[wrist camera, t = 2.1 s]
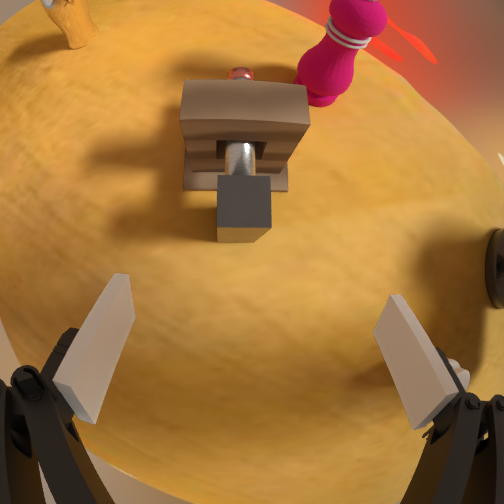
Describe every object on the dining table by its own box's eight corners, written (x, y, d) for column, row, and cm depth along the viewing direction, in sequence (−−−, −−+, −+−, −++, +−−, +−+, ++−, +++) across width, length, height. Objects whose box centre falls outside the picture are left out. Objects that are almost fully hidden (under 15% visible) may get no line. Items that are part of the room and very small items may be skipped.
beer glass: (81, 25, 31) (57, -27, 17) (108, 25, 32) (87, -34, 17) (59, 51, 31) (28, -1, 16) (85, 51, 31) (55, -8, 16)
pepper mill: (347, 105, 35) (420, 14, 15) (306, 115, 34) (369, 7, 14) (323, 68, 35) (376, -27, 15) (281, 76, 34) (322, -34, 14)
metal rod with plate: (253, 242, 32) (271, 227, 21) (217, 242, 31) (216, 227, 21) (252, 106, 33) (265, 50, 22) (221, 105, 33) (223, 48, 22)
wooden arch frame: (286, 192, 33) (324, 148, 20) (183, 191, 32) (163, 143, 19) (284, 132, 34) (314, 70, 21) (187, 130, 32) (175, 63, 19)
